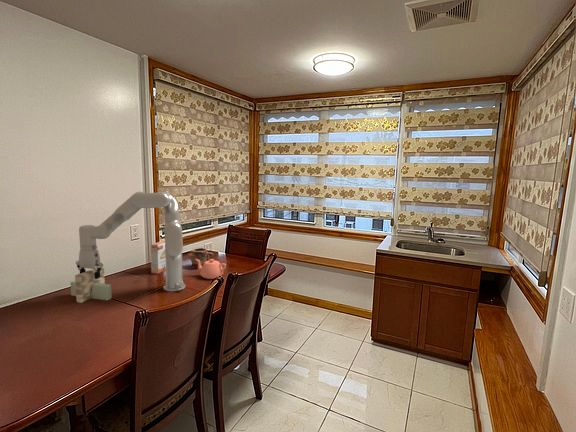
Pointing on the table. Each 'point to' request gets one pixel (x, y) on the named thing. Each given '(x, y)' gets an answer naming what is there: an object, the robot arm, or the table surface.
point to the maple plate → (87, 284)
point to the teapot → (211, 269)
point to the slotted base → (95, 291)
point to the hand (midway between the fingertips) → (90, 277)
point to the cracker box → (158, 257)
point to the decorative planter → (199, 256)
